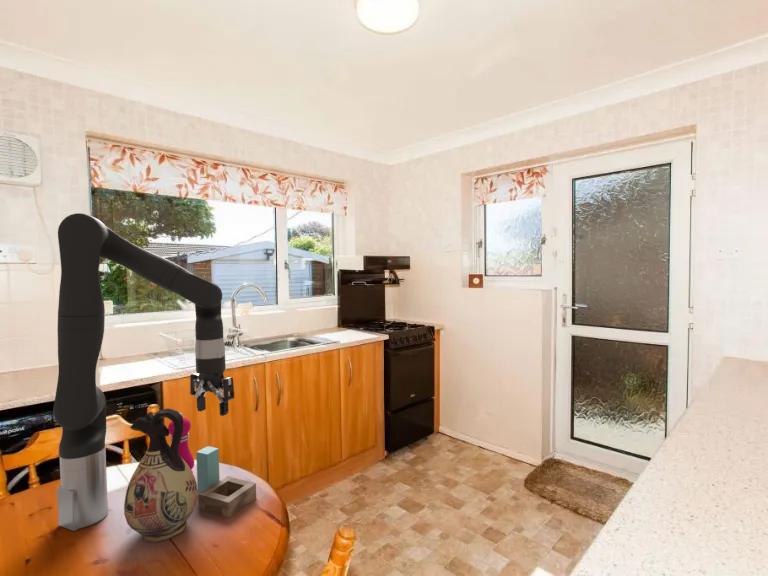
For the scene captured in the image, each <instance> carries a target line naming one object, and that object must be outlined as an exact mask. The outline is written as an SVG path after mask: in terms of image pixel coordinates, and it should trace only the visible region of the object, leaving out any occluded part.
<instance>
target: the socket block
mask: <svg viewBox="0 0 768 576" xmlns="http://www.w3.org/2000/svg"><path fill="white" fill-rule="evenodd" d="M256 498H257V483H256V482H252V481H247V480H244V479H241V478H236V477H233V476H228V475H227V476H225V477H224V478H222V479H221V480H220V481H219V482H217V483H216V484H214V485H212V486H211V487H209V488H208V489H206V490H204V491H203V492H201V493H200V494H199V495H198V510H201V511H204V512H207V513H211V514H214V515H217V516H220V517H223V518H227V519H230V518H231V517H232V516H234V515H236V513H238V512H239V511H240V510H242V509H243V508H244V507H246V506H248V505H249V503H251V502H253V501H254V500H255V499H256Z"/></svg>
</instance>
